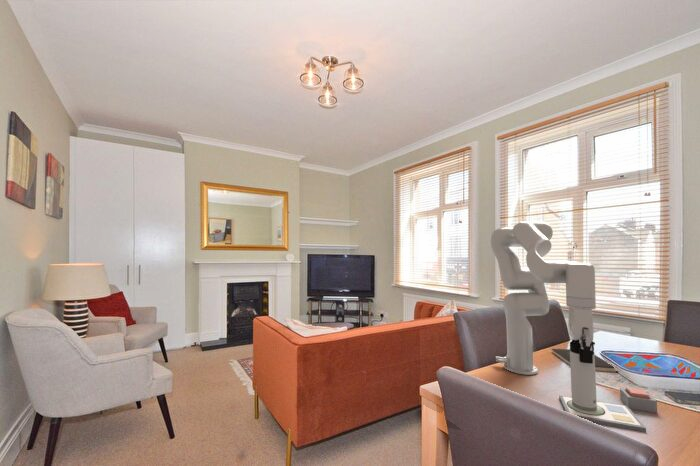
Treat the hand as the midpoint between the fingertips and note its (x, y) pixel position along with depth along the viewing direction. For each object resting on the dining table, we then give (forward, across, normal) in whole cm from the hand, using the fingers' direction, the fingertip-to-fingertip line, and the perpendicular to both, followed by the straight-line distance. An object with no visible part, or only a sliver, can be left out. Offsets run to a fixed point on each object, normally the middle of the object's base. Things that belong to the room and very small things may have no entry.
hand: (582, 357), depth 101 cm
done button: (+14, -10, +17) cm, 24 cm away
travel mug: (+15, +1, 0) cm, 15 cm away
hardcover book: (+18, -52, +10) cm, 56 cm away
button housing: (+16, -10, +17) cm, 25 cm away
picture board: (+16, +1, +4) cm, 17 cm away
